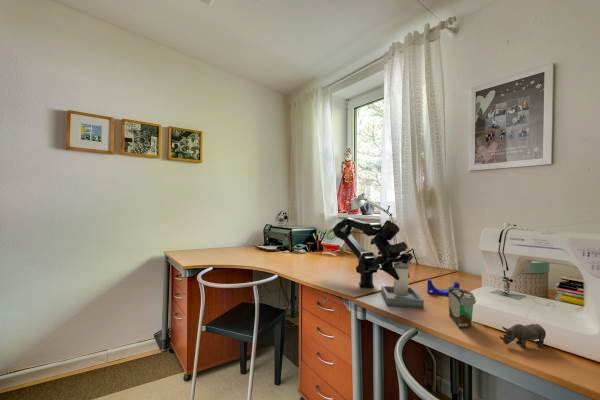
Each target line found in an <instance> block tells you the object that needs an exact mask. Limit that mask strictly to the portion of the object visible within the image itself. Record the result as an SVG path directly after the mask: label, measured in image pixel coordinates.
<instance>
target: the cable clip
mask: <svg viewBox="0 0 600 400" xmlns="http://www.w3.org/2000/svg"><path fill="white" fill-rule="evenodd" d="M426 280H427V282H426V283H427V287H426V290H427V295H435V294H436V295H437V296H443V295H446V296H445V297H449V293H448V289H449V287H448V288H445V289H439V288H437V287H436V286H435V285H434V284H433V282H432V278H427V279H426ZM451 287H453V288H459V289H460V282H459V281H455V280H454V282H453V285H452V286H451ZM436 295H435V296H436Z"/></svg>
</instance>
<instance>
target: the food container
mask: <svg viewBox="0 0 600 400" xmlns="http://www.w3.org/2000/svg"><path fill="white" fill-rule="evenodd" d="M448 288H449V289H448ZM448 288H447V289H448V293H449V296H448V316H449V319H450V320H451V321H452V322H453V323H454V324H455V325H456V327H457V328H458V329H459V330H461V329H462V330H463V329H465V330H466V329H470V328H471V327H472V320H473V311H474V310H473V309H474V305H476V303H477V301H476V297H475V295H474V293H473V292H471V291H469V290H466V289H463V288H460V287H459V288H453V287H452V286H448Z"/></svg>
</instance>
